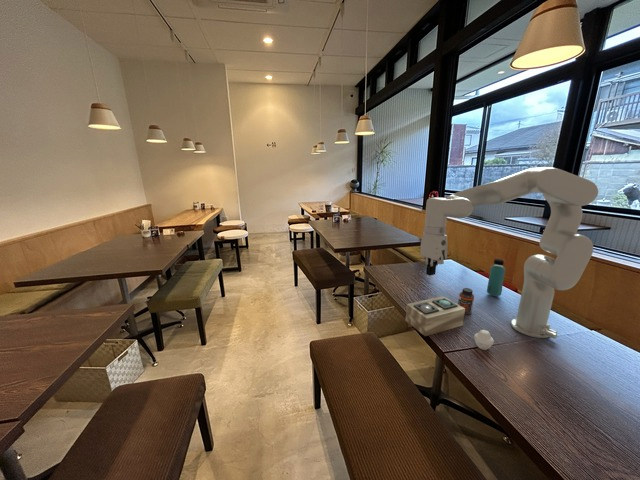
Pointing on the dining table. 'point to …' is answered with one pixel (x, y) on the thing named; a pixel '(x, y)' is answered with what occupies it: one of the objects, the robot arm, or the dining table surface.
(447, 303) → the teal peg
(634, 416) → the dining table surface
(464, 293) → the supplement bottle
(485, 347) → the white rounded ridged piece
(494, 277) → the beverage bottle
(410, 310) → the socket block
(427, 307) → the steel peg
